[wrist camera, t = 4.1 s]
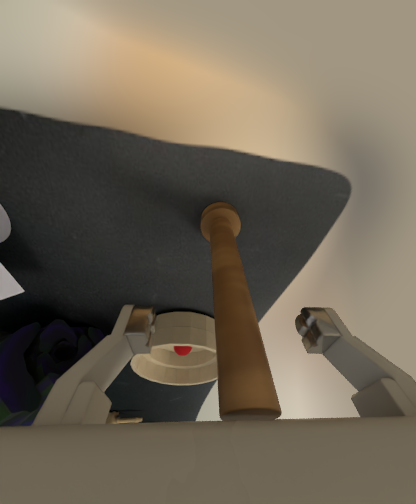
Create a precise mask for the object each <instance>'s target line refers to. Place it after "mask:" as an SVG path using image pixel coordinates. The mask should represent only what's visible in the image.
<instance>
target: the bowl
mask: <svg viewBox="0 0 416 504" xmlns="http://www.w3.org/2000/svg"><path fill="white" fill-rule="evenodd" d="M152 336H153V345H152V349H151V354H133V357H132V360H131V363H130V364H131V367H132V369H133V371H134V372H136V373H137V374H138V375H139V376H141V377H143V378H146V379H148V380H150V381H154V382H158V383H163V384H170V385H194V384H202V383H206V382H210V381H213V380H216V379H218V376H217V357H216V339H215V320H214V319H213V318H211V317H208V316H206V315H202V314H198V313H193V312H170V313H165V314H160V315H158V316H157V325H156V331H155V333H154V334H153V335H152ZM174 346H191V347H192V349H191V351H190V353H189V354H187V355H185V356H180V355H178V354H177V353H176V352H175V350H174Z"/></svg>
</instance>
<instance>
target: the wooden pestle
mask: <svg viewBox="0 0 416 504" xmlns="http://www.w3.org/2000/svg"><path fill="white" fill-rule="evenodd" d="M200 228H201V232H202V235H203V236H204V237H205V238H206V239H207V240H208V241H210V246H211V264H212V283H213V301H214V320H215V339H216V357H217V376H218V394H219V413H220V418H221V420H223V421H235V420H274V419H276V418H278V417H280V415H281V408H280V405H279V401H278V397H277V393H276V390H275V386H274V382H273V378H272V374H271V371H270V367H269V363H268V359H267V356H266V353H265V348H264V344H263V341H262V337H261V333H260V329H259V326H258V322H257V318H256V314H255V311H254V307H253V303H252V299H251V296H250V292H249V288H248V284H247V281H246V277H245V273H244V269H243V266H242V262H241V258H240V254H239V251H238V247H237V243H236V239H235V237H236V236H237V235H238V233H239V231H240V228H241V222H240V219H239V216H238V213H237V211H236V209H235V208H234V207H233V206H232V205H230V204H228V203H225V202H216V203H213V204H211V205H209V206H208V207H206V208H205V210H204V211H203V213H202V215H201V224H200Z"/></svg>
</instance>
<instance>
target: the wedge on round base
mask: <svg viewBox="0 0 416 504" xmlns="http://www.w3.org/2000/svg"><path fill="white" fill-rule="evenodd" d="M10 232H11V224H10V220H9V217H8V215H7V213H6V211H5V210H4V208H3V207H2V205H1V204H0V243H1V242H3V241H4V240H6V239H7V238H8V236H9V235H10ZM22 292H25V291H24V290H23V289H22V288H21V286H20V285H19V284H18V283H17V282H16V280H15V279H14V278H13V277H12V276H11V275H10V273H9V272H8V271H7V270H6V269H5V268H4V266H3V265H2V264H1V263H0V300H2V299H5V298H8V297H11V296H14V295H16V294H19V293H22Z"/></svg>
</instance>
